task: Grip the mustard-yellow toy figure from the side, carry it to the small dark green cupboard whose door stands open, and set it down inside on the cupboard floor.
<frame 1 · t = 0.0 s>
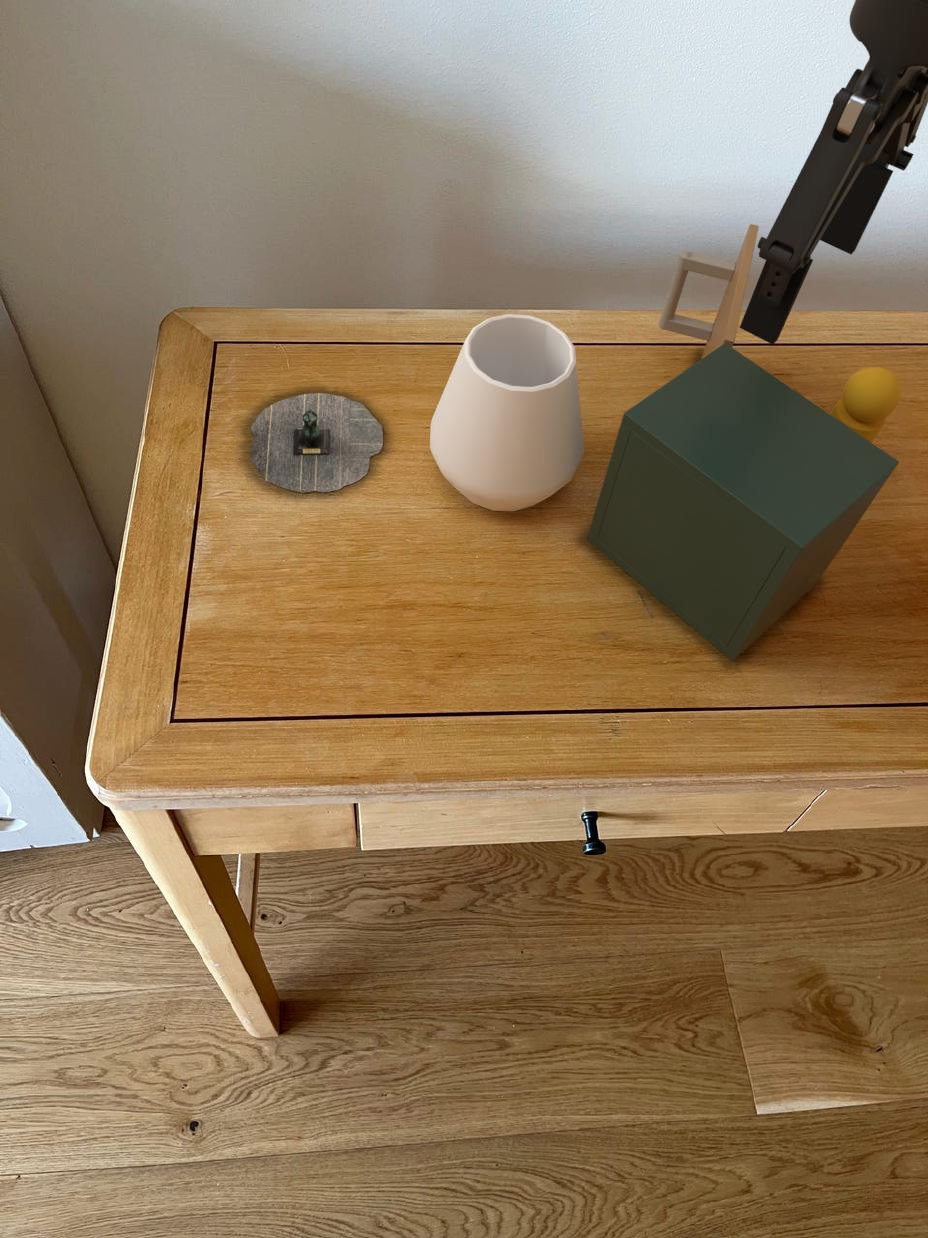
hand: (799, 287, 69), 20 cm above the table, tool pointing down, fingers open, 13 cm apart
white tapered cylinder: (501, 473, 83), on the table
cabinet: (701, 560, 79), on the table
sculpture: (315, 442, 84), on the table
cabinet door: (688, 341, 83), point 8 cm above the table, hinge at 120.0°
toy: (831, 463, 87), on the table
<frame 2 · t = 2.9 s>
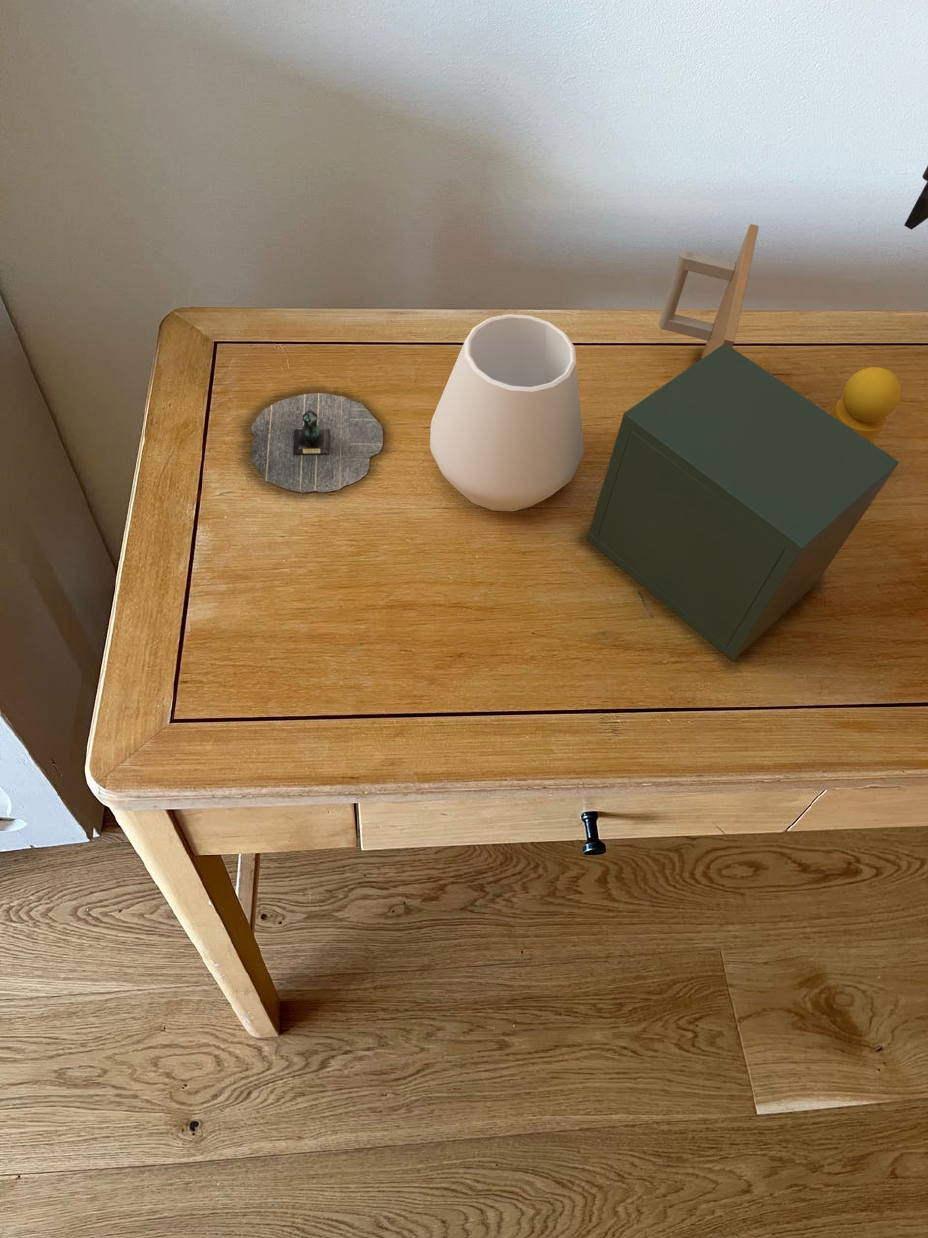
nothing on the table moved.
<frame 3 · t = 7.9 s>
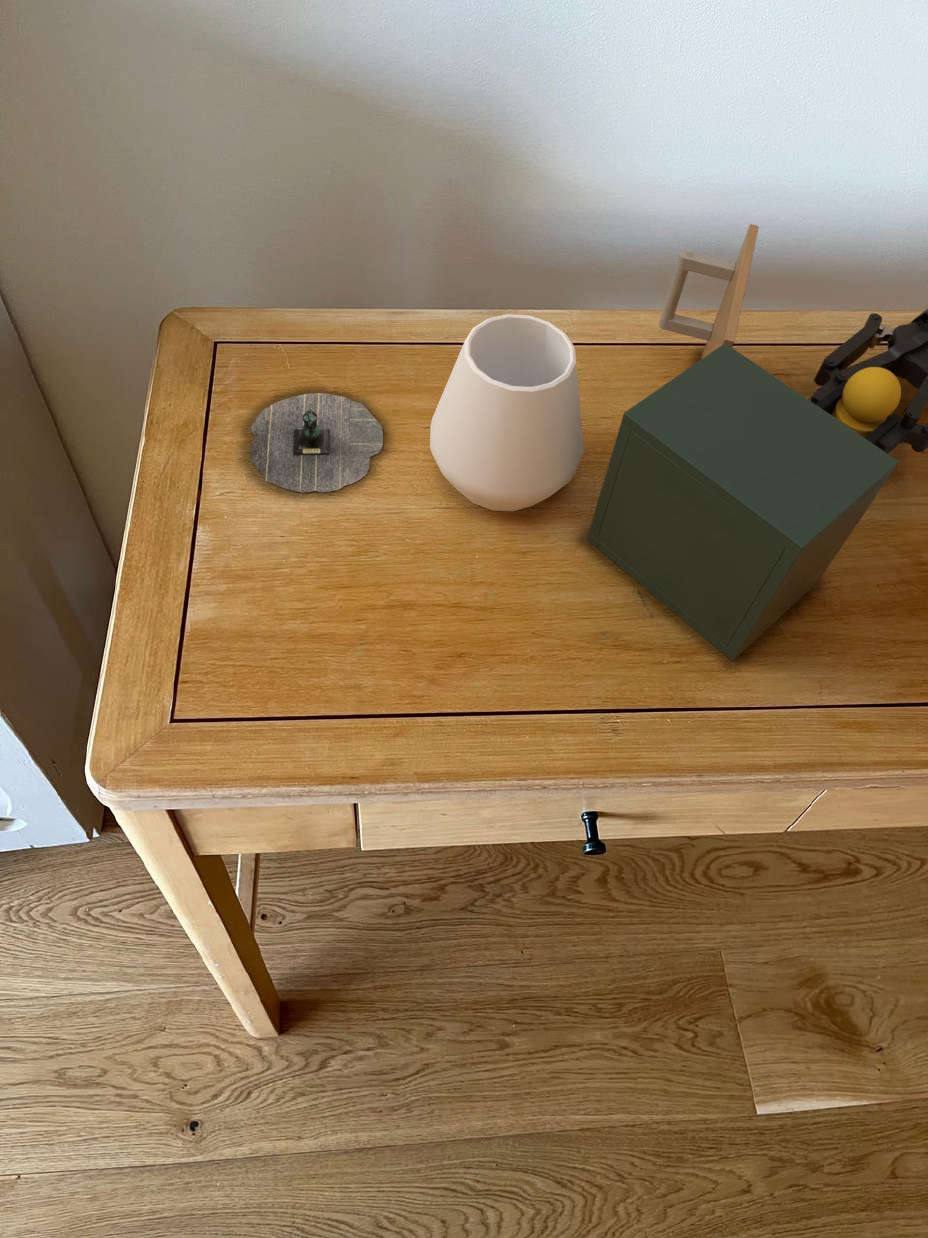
hand: (824, 444, 79), 6 cm above the table, tool horizontal, fingers closed on toy, 4 cm apart
toy: (831, 463, 87), on the table, touching gripper
everything else where it was.
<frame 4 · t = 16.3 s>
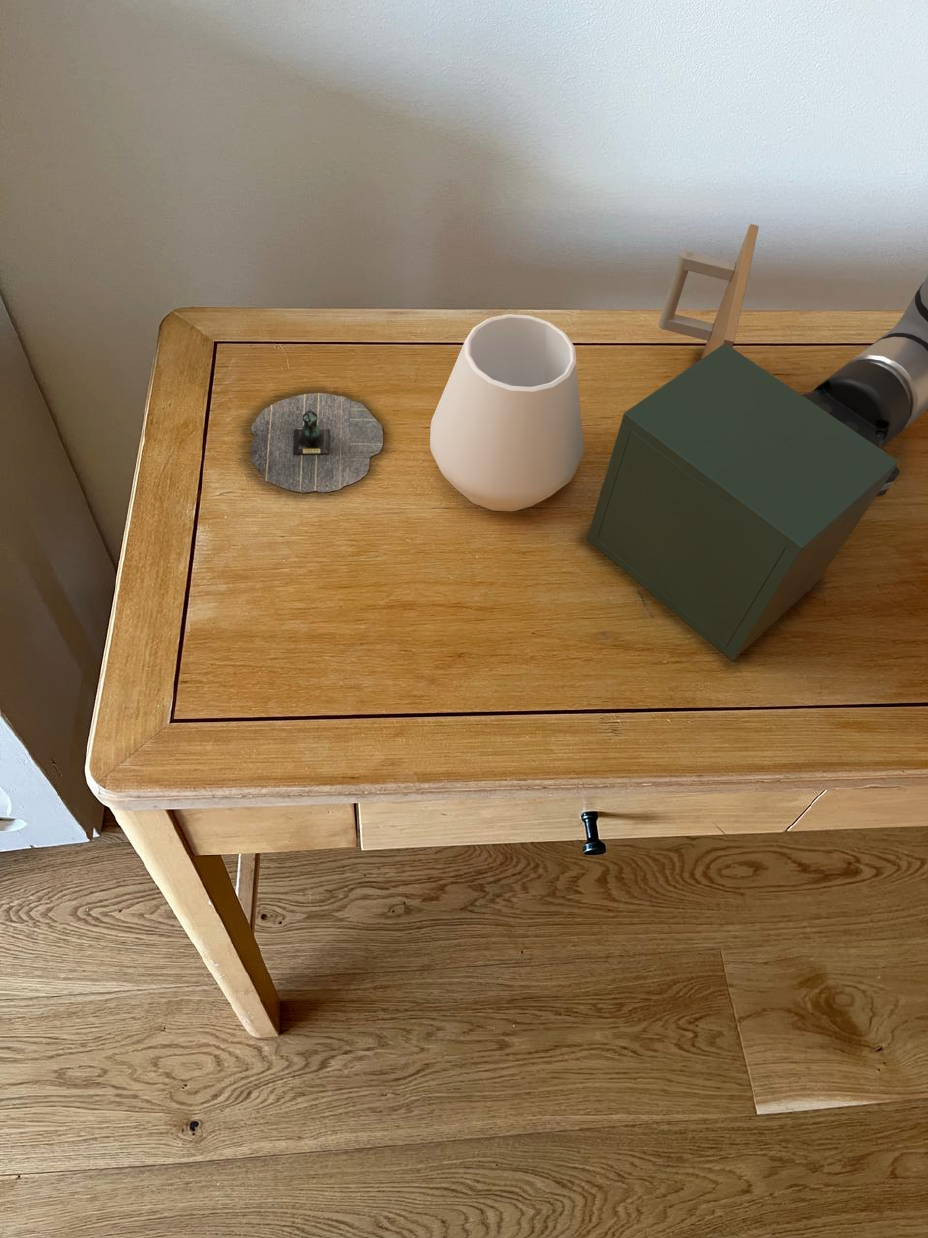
hand: (700, 537, 70), 8 cm above the table, tool horizontal, fingers closed on toy, 4 cm apart
toy: (720, 548, 78), point 2 cm above the table, touching gripper
everything else where it was.
when the fingers open (7 cm above the table, at t = 17.3 s): toy stays where it is, resting on cabinet.
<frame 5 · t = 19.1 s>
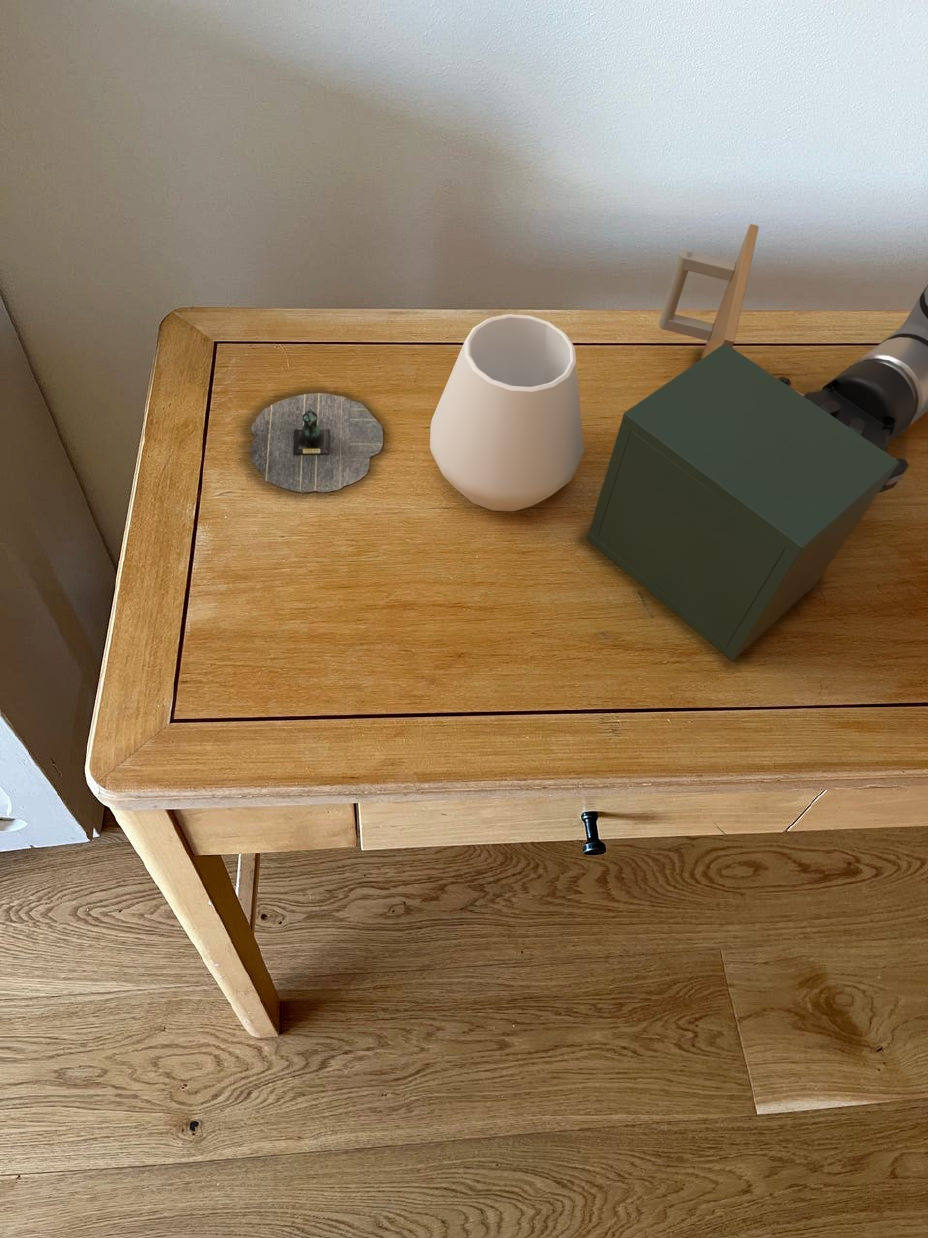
hand: (717, 526, 74), 6 cm above the table, tool horizontal, fingers open, 6 cm apart
toy: (717, 555, 78), point 1 cm above the table, touching cabinet
everything else where it was.
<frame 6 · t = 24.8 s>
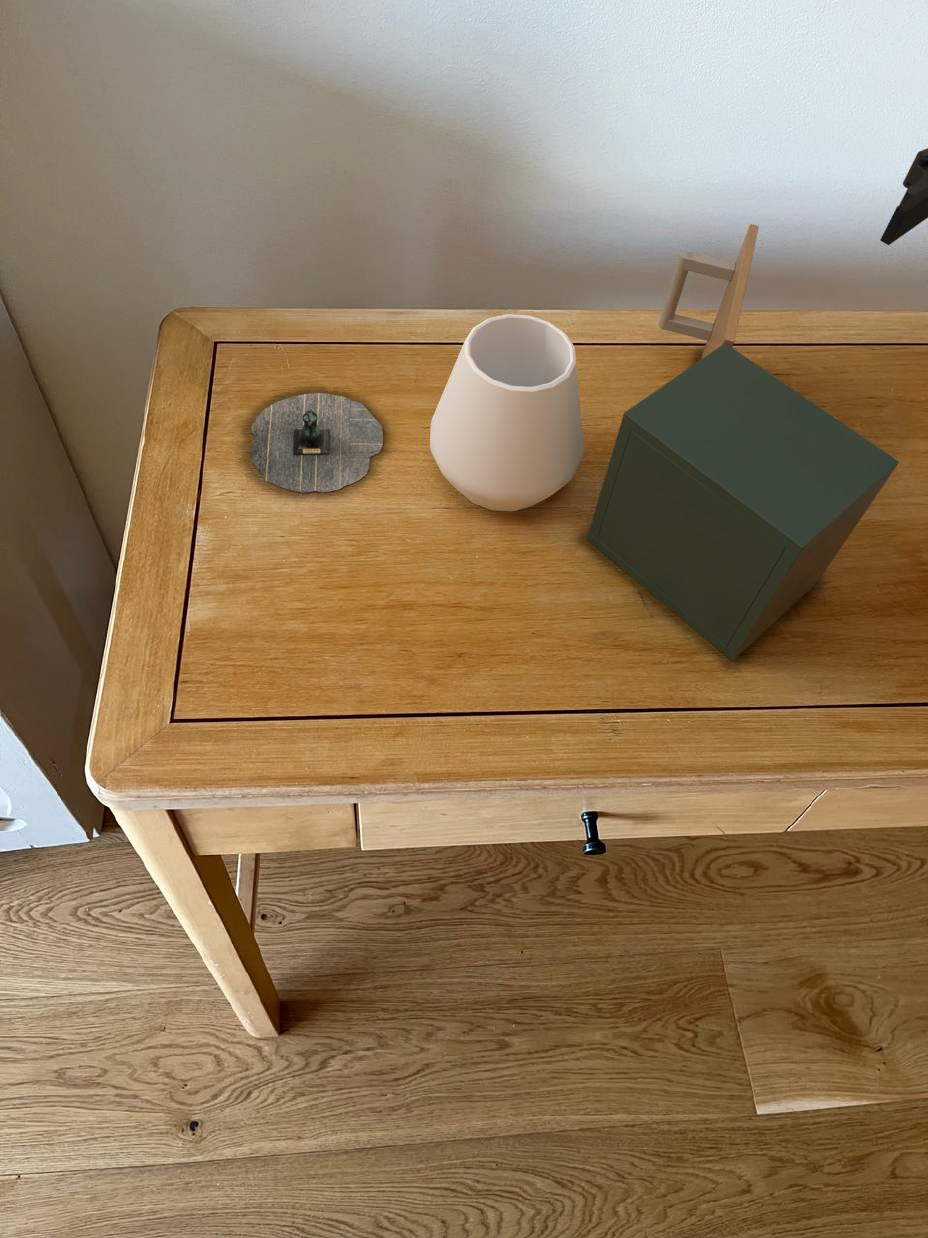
nothing on the table moved.
at the end: toy inside the target area in the cabinet (1.0 cm from its centre), point 1.0 cm above the cabinet's base; toy tilted 0°; the gripper is holding nothing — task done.
